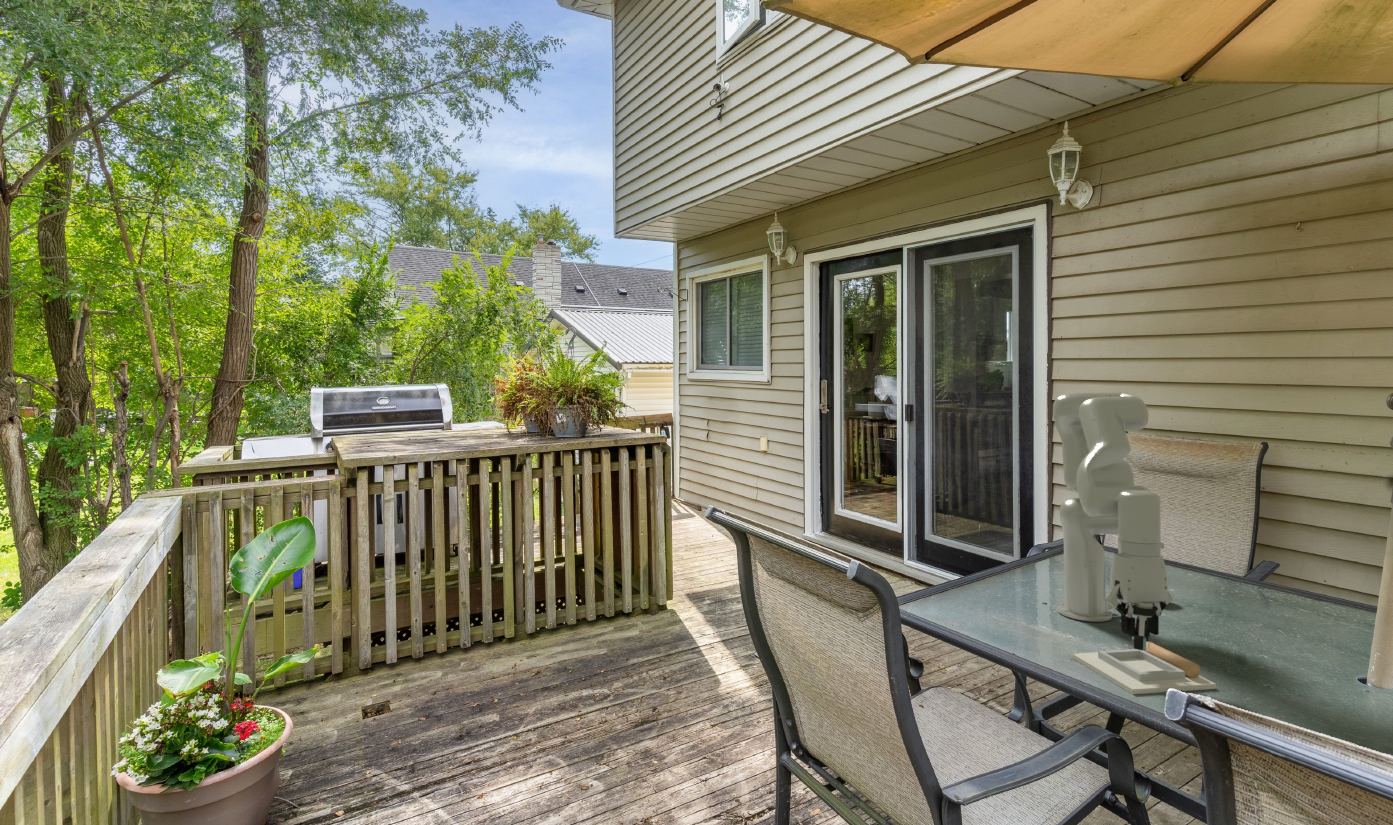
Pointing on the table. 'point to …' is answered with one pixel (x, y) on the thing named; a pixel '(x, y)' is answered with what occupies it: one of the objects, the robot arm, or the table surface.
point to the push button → (1142, 624)
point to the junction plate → (1146, 669)
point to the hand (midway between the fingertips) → (1139, 632)
